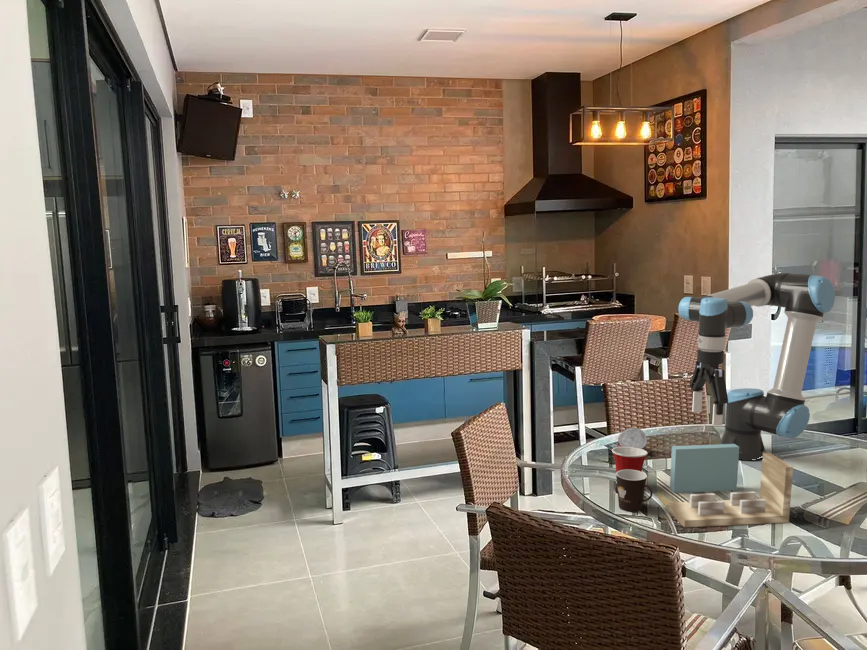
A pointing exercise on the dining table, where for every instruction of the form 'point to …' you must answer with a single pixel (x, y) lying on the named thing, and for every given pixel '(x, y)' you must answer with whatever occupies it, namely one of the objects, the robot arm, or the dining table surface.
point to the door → (704, 468)
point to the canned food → (632, 438)
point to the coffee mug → (631, 489)
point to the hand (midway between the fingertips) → (706, 418)
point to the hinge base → (742, 501)
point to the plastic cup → (629, 458)
